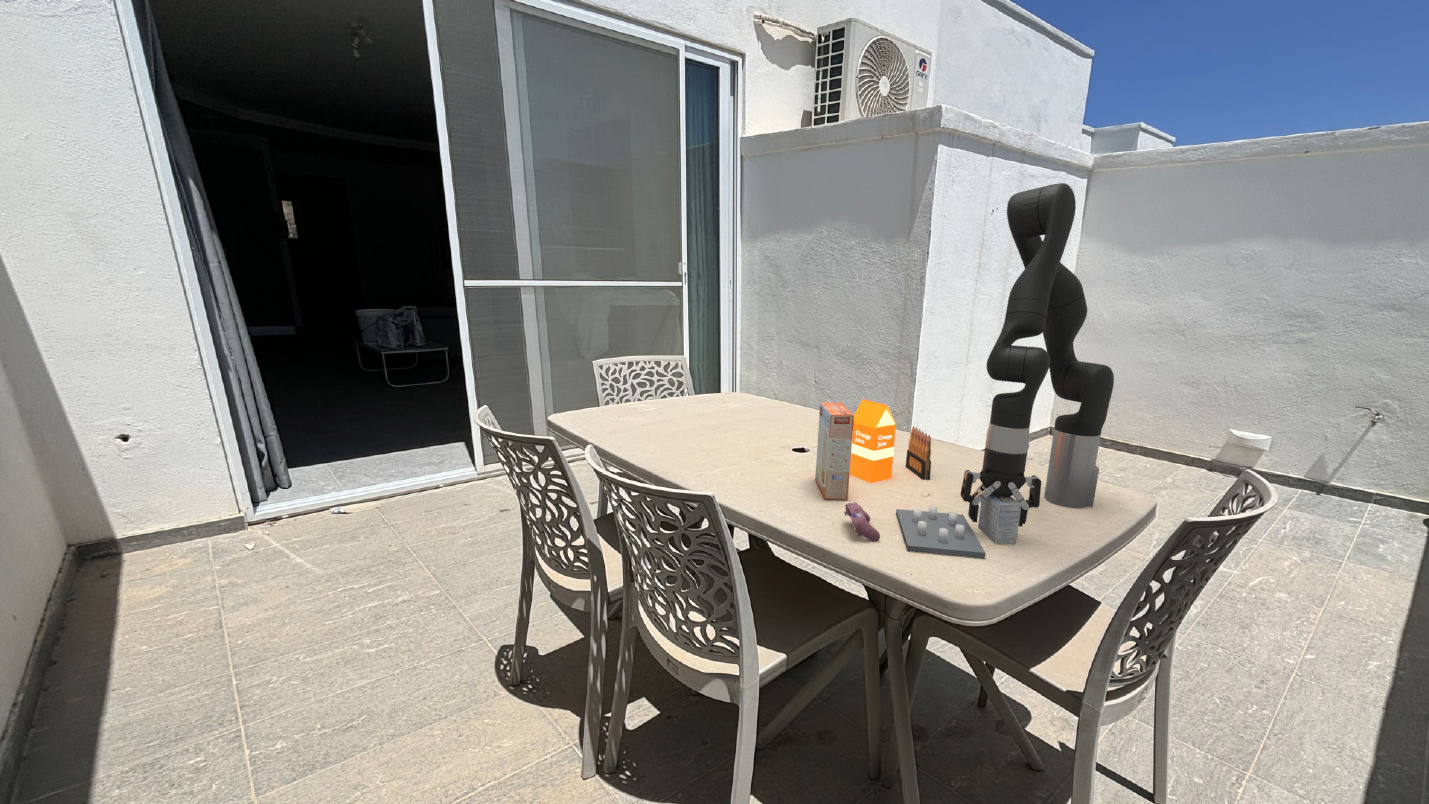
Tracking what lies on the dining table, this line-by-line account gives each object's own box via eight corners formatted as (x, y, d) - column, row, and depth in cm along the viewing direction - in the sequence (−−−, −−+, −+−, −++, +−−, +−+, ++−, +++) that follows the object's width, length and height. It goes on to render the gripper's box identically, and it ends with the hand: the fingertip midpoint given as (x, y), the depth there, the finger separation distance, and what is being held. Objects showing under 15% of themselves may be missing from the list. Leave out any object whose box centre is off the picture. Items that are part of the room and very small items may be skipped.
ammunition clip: (905, 466, 159) (908, 425, 157) (911, 466, 160) (915, 425, 157) (923, 480, 149) (927, 435, 146) (930, 480, 149) (934, 435, 147)
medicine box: (1016, 545, 113) (1022, 504, 111) (994, 544, 113) (999, 503, 111) (998, 528, 121) (1003, 489, 119) (977, 527, 121) (981, 489, 119)
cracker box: (849, 501, 134) (855, 414, 130) (823, 500, 134) (828, 414, 130) (837, 480, 148) (843, 401, 143) (814, 479, 148) (818, 400, 143)
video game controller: (851, 528, 123) (838, 500, 122) (870, 519, 123) (858, 492, 122) (861, 549, 114) (847, 519, 112) (882, 540, 113) (869, 510, 112)
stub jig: (962, 519, 125) (964, 504, 124) (984, 558, 107) (987, 541, 107) (895, 514, 127) (897, 498, 126) (907, 551, 110) (908, 533, 109)
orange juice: (871, 483, 146) (877, 406, 142) (846, 473, 153) (851, 400, 149) (892, 478, 150) (898, 403, 146) (866, 468, 158) (872, 397, 153)
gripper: (1038, 444, 115) (1027, 519, 119) (963, 438, 118) (955, 512, 121) (1052, 455, 108) (1040, 534, 112) (972, 449, 111) (962, 527, 114)
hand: (995, 522), depth 116 cm, fingers open, 8 cm apart
